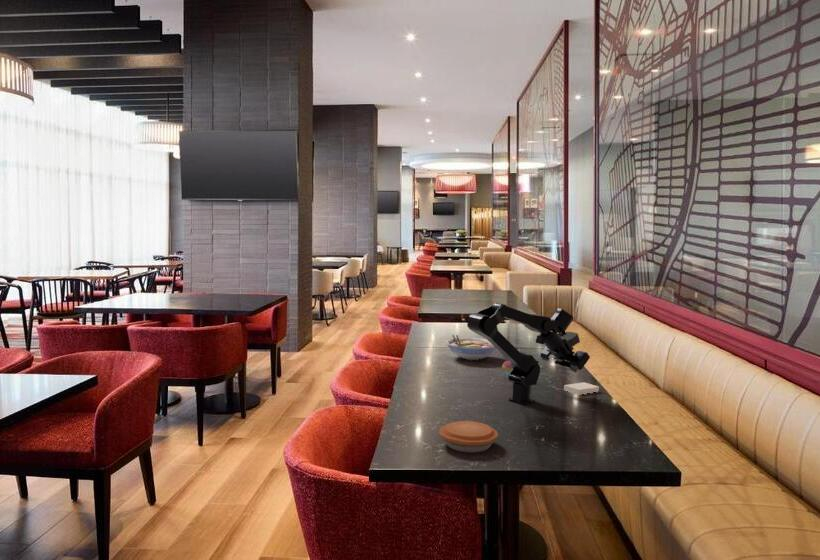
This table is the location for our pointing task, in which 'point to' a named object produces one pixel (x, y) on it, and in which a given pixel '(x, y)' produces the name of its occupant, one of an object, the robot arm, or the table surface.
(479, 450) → the pie
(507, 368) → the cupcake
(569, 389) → the tile
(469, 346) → the ramen bowl
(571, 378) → the table surface
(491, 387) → the table surface
